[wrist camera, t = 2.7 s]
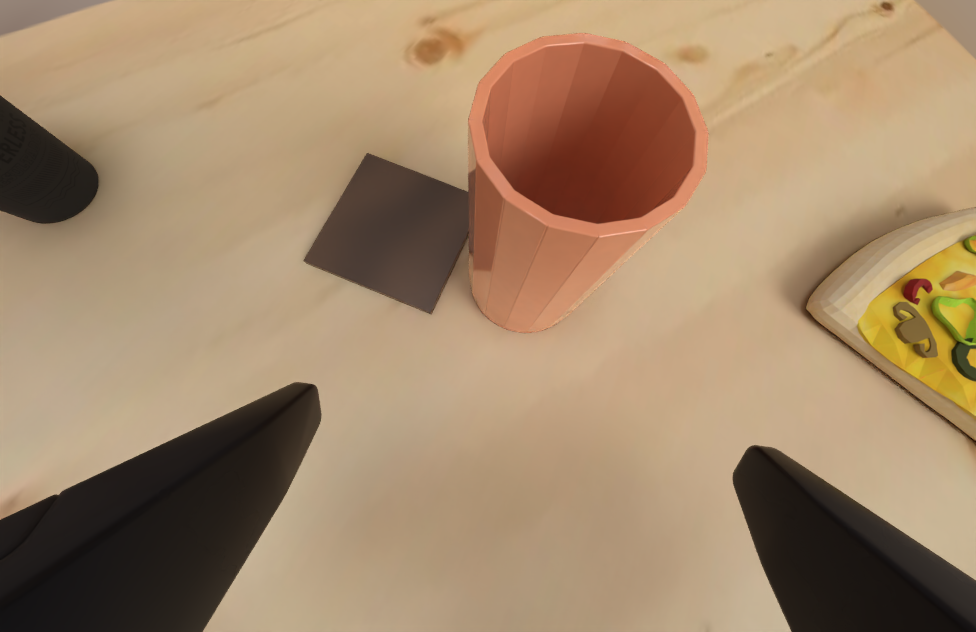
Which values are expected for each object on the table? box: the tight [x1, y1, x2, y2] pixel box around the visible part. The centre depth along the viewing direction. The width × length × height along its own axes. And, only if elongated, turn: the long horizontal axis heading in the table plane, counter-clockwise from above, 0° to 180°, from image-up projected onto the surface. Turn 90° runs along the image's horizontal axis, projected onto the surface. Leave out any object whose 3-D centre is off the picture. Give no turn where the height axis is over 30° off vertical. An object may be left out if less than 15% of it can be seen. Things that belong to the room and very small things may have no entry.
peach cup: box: [468, 33, 708, 333], centre depth 16 cm, size 7×7×12 cm
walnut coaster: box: [304, 153, 469, 314], centre depth 22 cm, size 8×8×1 cm
